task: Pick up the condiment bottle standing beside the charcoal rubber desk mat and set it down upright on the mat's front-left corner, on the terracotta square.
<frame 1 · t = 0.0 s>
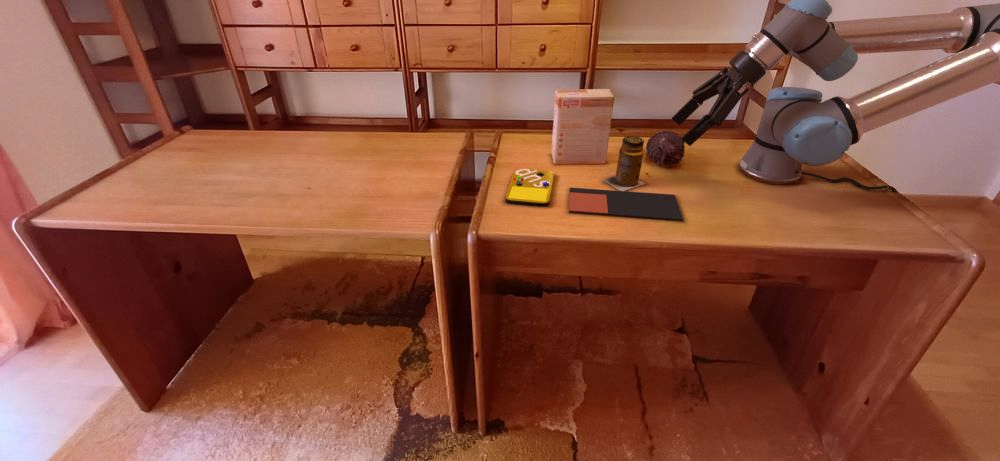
hand: (680, 131, 115), 15 cm above the table, tool tilted 35°, fingers open, 13 cm apart
desk mat: (623, 204, 116), on the table
condiment: (623, 183, 126), on the table
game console: (530, 189, 123), on the table
coffeecake box: (577, 160, 138), on the table
pine cone: (662, 162, 137), on the table
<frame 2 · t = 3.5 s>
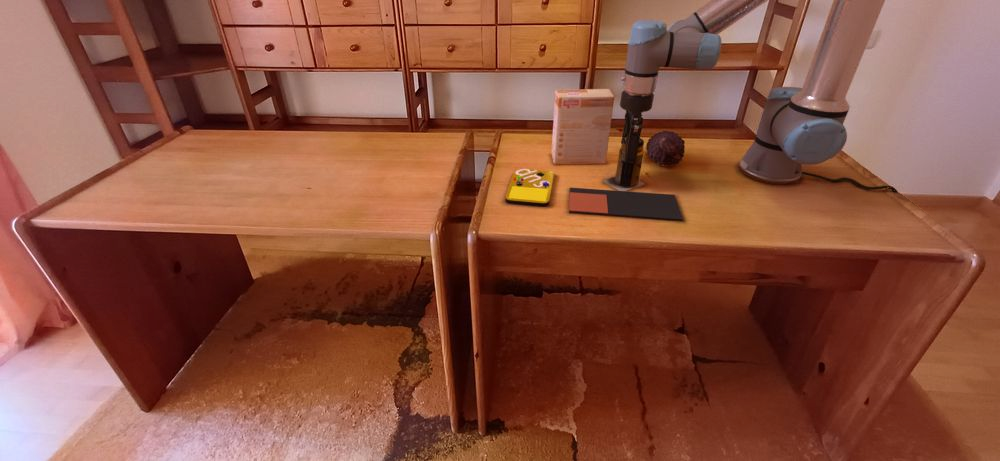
hand: (623, 178, 126), 1 cm above the table, tool pointing down, fingers closed on condiment, 6 cm apart
condiment: (623, 183, 126), on the table, touching gripper
everything else where it was.
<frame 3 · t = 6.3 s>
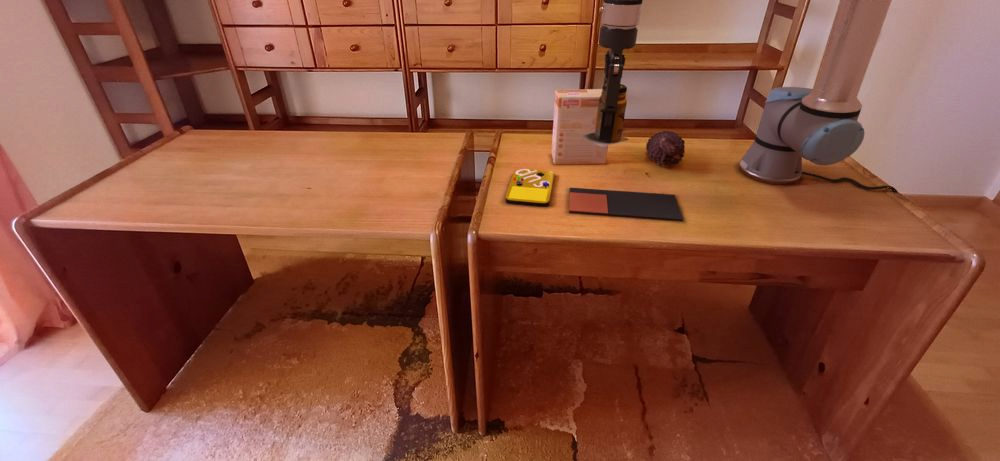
hand: (604, 134, 109), 17 cm above the table, tool pointing down, fingers closed on condiment, 6 cm apart
condiment: (604, 139, 109), point 16 cm above the table, touching gripper
everything else where it was.
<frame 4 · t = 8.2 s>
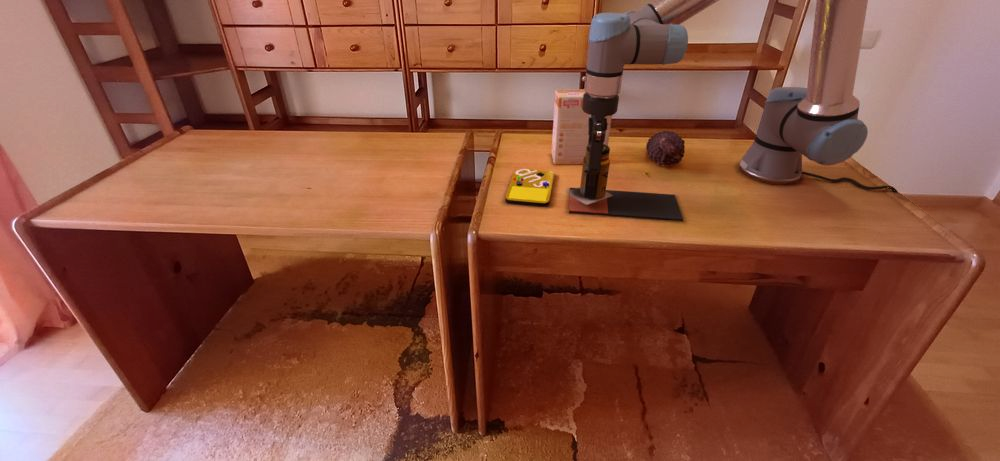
hand: (589, 189, 114), 4 cm above the table, tool pointing down, fingers closed on condiment, 6 cm apart
condiment: (589, 195, 114), point 3 cm above the table, touching gripper
everything else where it was.
when the fingers open (2 cm above the table, at t = 9.2 s): condiment stays where it is, resting on desk mat.
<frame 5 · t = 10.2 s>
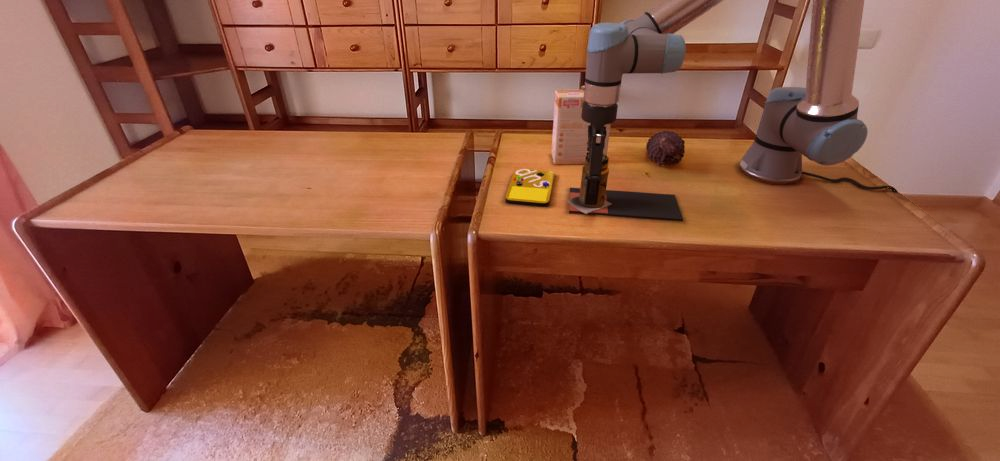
hand: (590, 190, 114), 4 cm above the table, tool pointing down, fingers open, 13 cm apart
condiment: (588, 203, 115), point 1 cm above the table, touching desk mat
everything else where it was.
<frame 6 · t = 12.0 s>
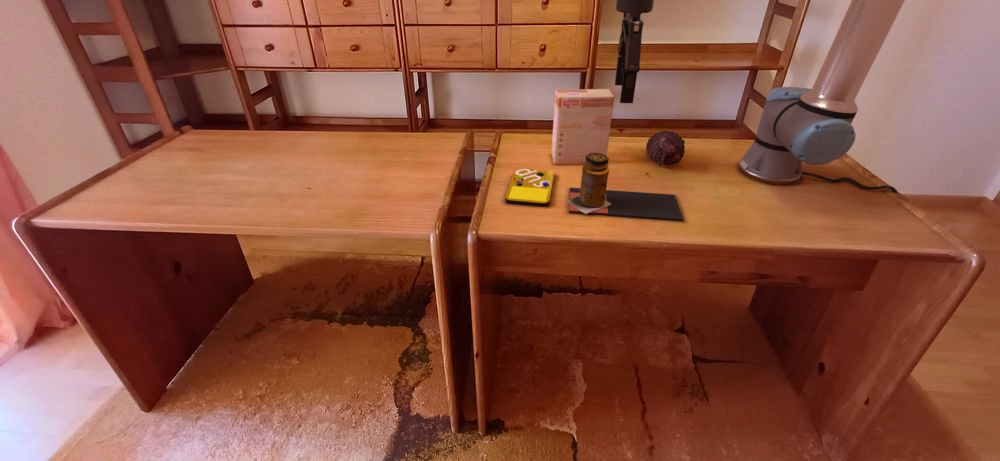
hand: (623, 93, 110), 25 cm above the table, tool pointing down, fingers open, 13 cm apart
nothing on the table moved.
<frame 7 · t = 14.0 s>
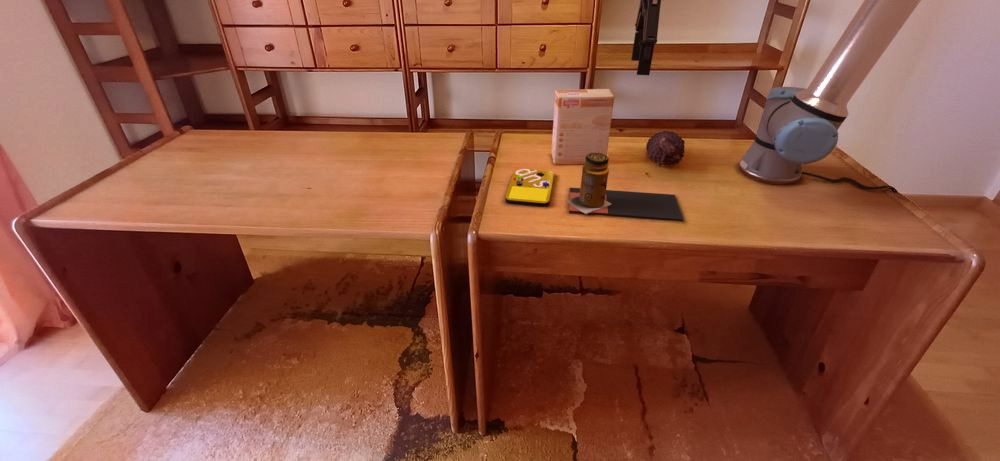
hand: (639, 67, 114), 29 cm above the table, tool pointing down, fingers open, 13 cm apart
nothing on the table moved.
at the end: condiment inside the target area (0.5 cm from its centre), point 0.6 cm above the table; condiment tilted 0°; the gripper is holding nothing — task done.
